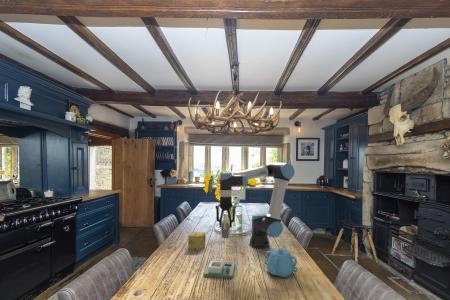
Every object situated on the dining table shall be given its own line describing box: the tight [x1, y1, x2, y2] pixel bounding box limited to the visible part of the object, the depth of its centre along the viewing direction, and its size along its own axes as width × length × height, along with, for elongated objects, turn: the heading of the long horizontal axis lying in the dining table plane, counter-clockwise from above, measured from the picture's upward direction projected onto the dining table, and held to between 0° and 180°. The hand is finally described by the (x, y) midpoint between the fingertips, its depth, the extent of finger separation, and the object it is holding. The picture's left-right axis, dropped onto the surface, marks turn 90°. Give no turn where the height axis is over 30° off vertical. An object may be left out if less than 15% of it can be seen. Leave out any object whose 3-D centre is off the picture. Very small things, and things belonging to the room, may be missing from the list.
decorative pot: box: [264, 248, 298, 279], centre depth 142 cm, size 16×16×14 cm
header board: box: [203, 259, 236, 279], centre depth 145 cm, size 16×18×4 cm
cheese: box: [187, 231, 207, 251], centre depth 181 cm, size 10×11×10 cm
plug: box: [221, 219, 230, 239], centre depth 158 cm, size 4×6×10 cm
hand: (225, 232), depth 158 cm, fingers closed on plug, 4 cm apart
